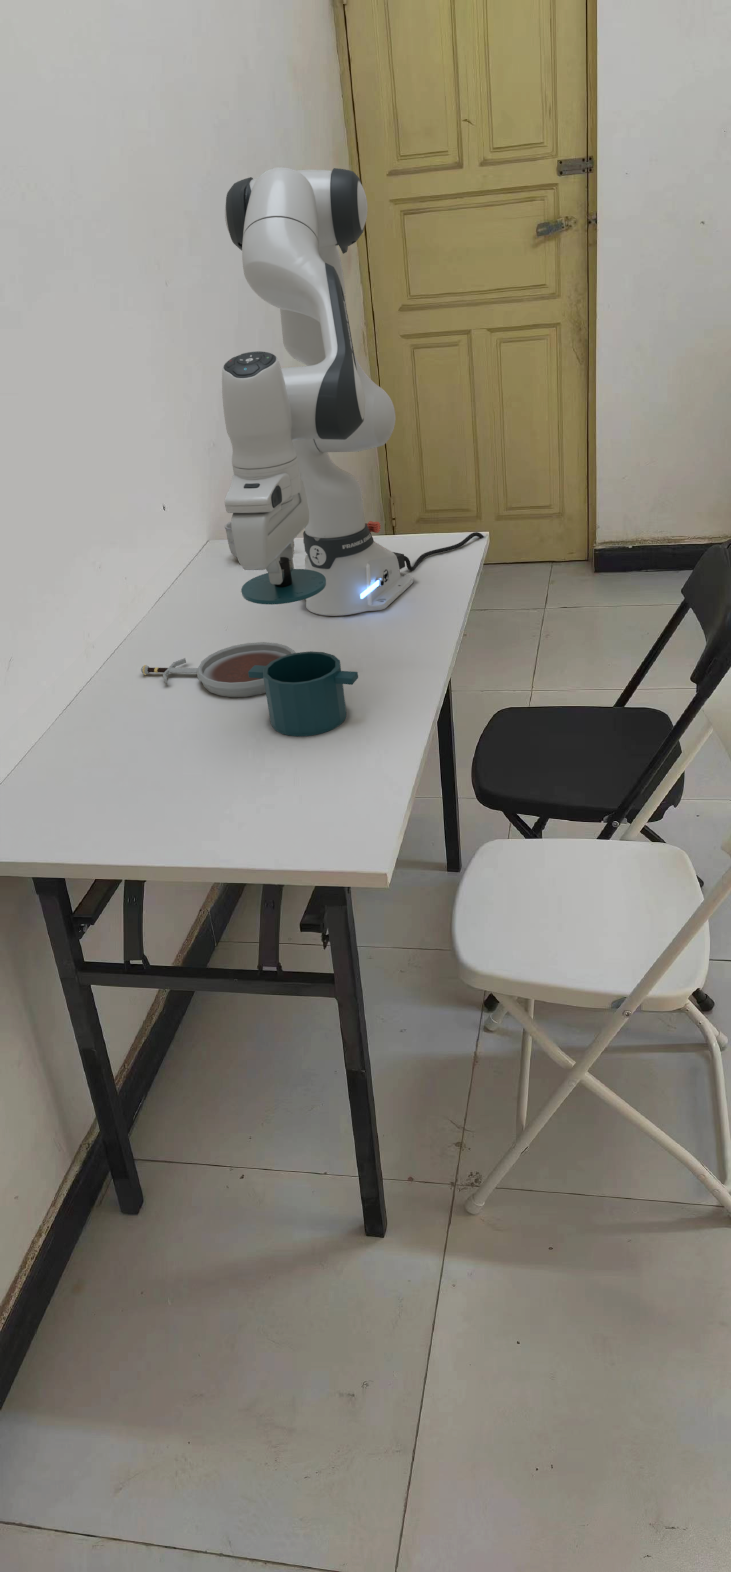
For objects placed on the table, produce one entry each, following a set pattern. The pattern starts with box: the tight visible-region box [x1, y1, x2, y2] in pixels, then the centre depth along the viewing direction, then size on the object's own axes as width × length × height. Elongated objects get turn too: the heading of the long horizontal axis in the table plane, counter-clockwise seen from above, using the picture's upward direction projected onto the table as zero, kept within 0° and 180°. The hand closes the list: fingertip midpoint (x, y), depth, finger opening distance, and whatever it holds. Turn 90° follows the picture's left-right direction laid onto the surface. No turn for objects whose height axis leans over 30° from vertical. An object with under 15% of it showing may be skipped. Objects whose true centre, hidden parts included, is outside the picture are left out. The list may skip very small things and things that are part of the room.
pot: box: [248, 650, 359, 737], centre depth 166 cm, size 11×17×8 cm
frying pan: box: [140, 641, 297, 698], centre depth 185 cm, size 17×3×28 cm
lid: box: [240, 557, 326, 606], centre depth 159 cm, size 12×12×5 cm
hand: (282, 577), depth 159 cm, fingers closed on lid, 2 cm apart
